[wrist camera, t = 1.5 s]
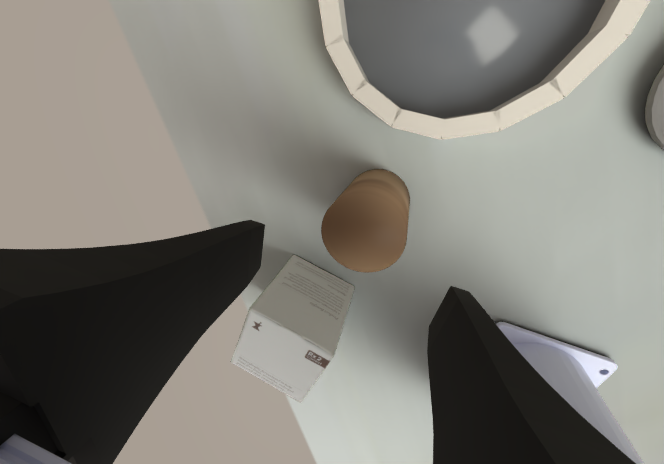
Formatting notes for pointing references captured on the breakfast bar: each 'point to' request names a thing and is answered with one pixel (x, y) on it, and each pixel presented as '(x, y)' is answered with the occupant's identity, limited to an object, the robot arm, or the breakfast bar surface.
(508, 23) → the round tray
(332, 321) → the skincare box
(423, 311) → the breakfast bar surface
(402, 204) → the walnut cylinder
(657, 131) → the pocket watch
